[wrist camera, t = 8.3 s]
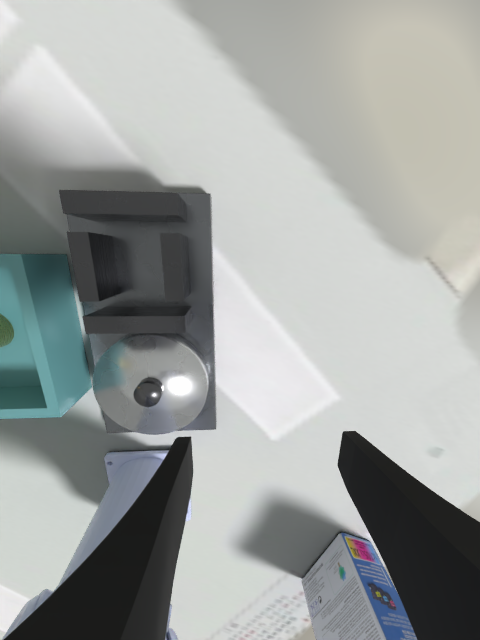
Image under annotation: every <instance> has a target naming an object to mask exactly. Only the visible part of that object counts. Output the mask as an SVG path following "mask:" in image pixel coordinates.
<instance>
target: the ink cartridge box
mask: <svg viewBox="0 0 480 640" xmlns="http://www.w3.org/2000/svg"><path fill="white" fill-rule="evenodd" d="M302 585H303V589H304V593H305V597H306V601H307V605H308V609H309V613H310V618H311V622H312V626H313V630H314V634H315V638H316V640H417V638H416V635H415V633H414V630H413V628H412V626H411V623H410V621H409V618H408V616H407V613H406V611H405V609H404V606H403V604H402V601H401V599H400V597H399V595H398V593H397V591H396V590H395V587H394V586H393V584H392V582H391V580H390V578H389V576H388V574H387V572H386V570H385V568H384V567H383V565H382V563H381V561H380V559H379V557H378V555H377V553H376V551H375V549H374V547H373V546H372V544H371V542H369V541H367V540H364V539H360V538H358V537H355V536H352V535H349V534H346V533H343V532H342V533H340V534H338V536H337V537H336V538H335V540H334V541H333V542H332V543H331V545H330V546H329V547H328V548H327V550H326V551H325V552H324V553H323V555H322V556H321V557H320V558H319V559H318V561H317V562H316V563H315V564H314V566H313V567H312V568H311V569H310V571H309V572H308V573H307V574H306V576H305V577H304V578H303V579H302Z"/></svg>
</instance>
